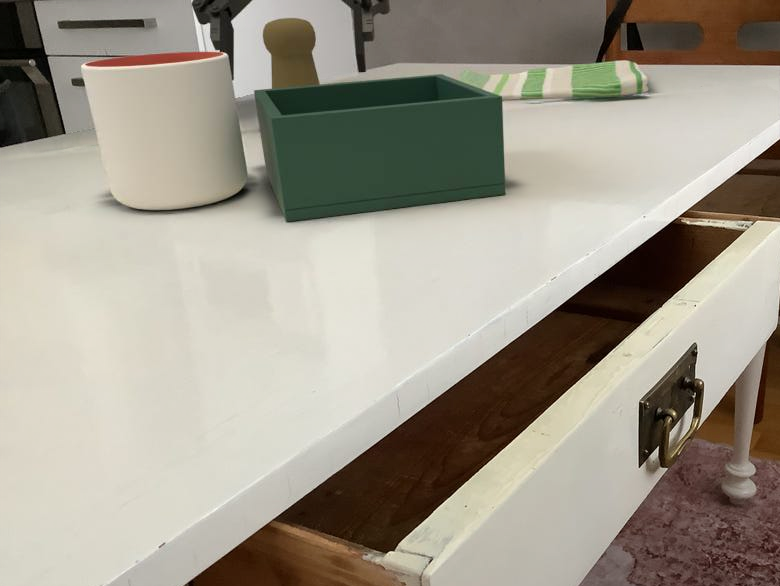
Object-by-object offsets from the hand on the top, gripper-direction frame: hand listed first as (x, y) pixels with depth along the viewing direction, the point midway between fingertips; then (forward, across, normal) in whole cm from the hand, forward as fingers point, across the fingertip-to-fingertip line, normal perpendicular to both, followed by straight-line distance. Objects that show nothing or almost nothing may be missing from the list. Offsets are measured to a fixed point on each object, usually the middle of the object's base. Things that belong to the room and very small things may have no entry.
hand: (294, 68), depth 86 cm
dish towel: (-7, -29, -17) cm, 34 cm away
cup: (+23, +6, +14) cm, 28 cm away
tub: (+23, -8, +14) cm, 28 cm away
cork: (+4, 0, -5) cm, 7 cm away
